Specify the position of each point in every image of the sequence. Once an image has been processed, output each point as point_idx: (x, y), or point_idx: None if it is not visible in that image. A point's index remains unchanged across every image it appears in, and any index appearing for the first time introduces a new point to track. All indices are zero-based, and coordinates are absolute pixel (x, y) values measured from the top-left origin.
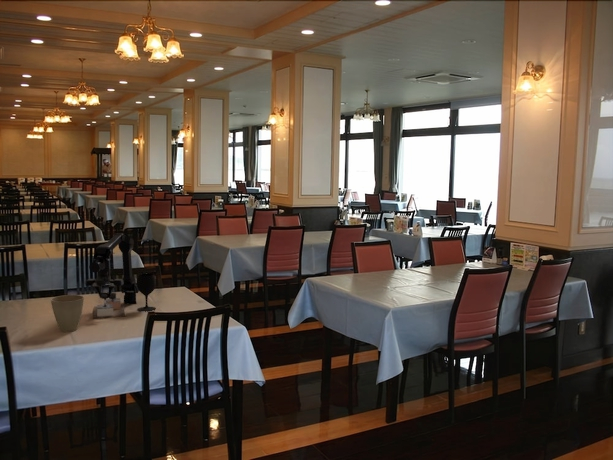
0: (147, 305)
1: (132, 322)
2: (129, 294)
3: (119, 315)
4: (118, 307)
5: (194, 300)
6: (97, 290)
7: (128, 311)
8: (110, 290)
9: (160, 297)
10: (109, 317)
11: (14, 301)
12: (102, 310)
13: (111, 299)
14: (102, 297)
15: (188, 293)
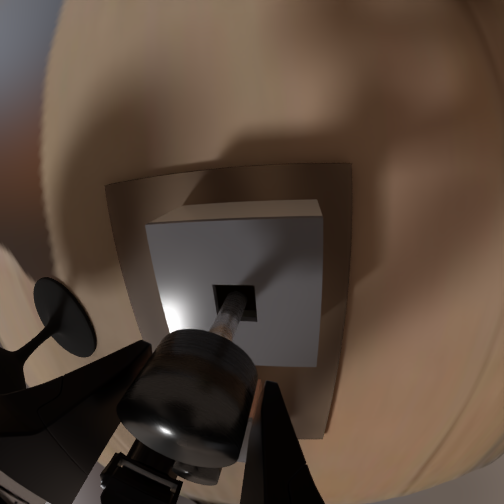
0: (46, 325)
1: (78, 42)
2: (146, 460)
3: (138, 193)
4: None
5: None
6: (312, 500)
7: (122, 316)
8: (38, 395)
9: None
10: (211, 169)
11: (492, 458)
12: (263, 213)
13: None
14: (232, 359)
15: None
